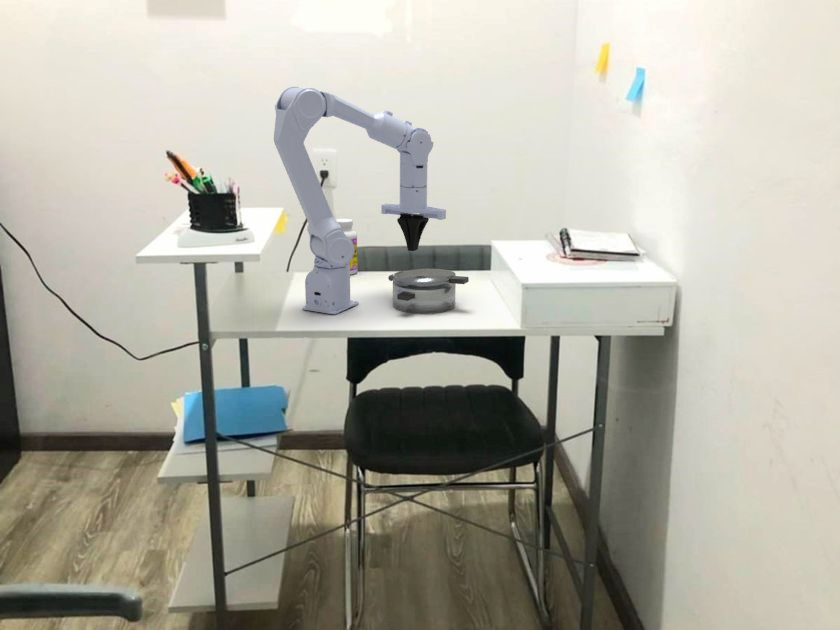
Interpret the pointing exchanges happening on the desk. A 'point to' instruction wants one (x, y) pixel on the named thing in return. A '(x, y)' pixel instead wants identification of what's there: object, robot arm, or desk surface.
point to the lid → (426, 278)
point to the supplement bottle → (352, 235)
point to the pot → (424, 298)
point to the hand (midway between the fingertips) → (412, 250)
